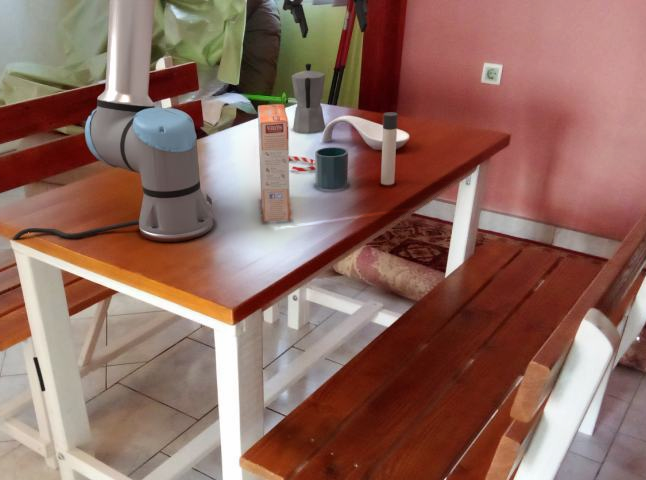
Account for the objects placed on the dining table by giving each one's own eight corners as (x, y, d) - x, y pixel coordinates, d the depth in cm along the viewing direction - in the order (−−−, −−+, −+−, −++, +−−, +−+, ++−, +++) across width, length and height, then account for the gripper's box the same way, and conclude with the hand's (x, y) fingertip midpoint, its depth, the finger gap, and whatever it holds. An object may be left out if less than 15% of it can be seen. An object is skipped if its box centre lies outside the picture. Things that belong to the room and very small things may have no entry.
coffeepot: (293, 123, 213) (292, 59, 203) (325, 122, 212) (325, 58, 202) (291, 138, 200) (289, 70, 190) (325, 137, 199) (325, 69, 189)
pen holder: (321, 193, 162) (321, 158, 157) (311, 183, 168) (311, 149, 163) (351, 189, 163) (352, 154, 159) (341, 179, 169) (341, 145, 165)
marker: (383, 187, 162) (386, 116, 154) (378, 183, 165) (381, 113, 156) (396, 186, 163) (400, 114, 154) (391, 181, 165) (394, 111, 157)
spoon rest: (415, 144, 188) (417, 117, 185) (398, 157, 180) (400, 129, 176) (334, 135, 200) (334, 109, 196) (314, 147, 191) (314, 120, 187)
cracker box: (291, 221, 148) (289, 119, 137) (262, 223, 148) (257, 121, 137) (287, 198, 160) (285, 102, 149) (261, 199, 160) (256, 104, 149)
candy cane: (282, 151, 186) (326, 161, 176) (282, 156, 186) (326, 166, 177) (261, 158, 181) (305, 170, 172) (261, 163, 182) (305, 175, 173)
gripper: (263, -59, 156) (283, 24, 152) (370, -67, 160) (393, 14, 156) (258, -33, 163) (277, 47, 159) (361, -42, 167) (383, 36, 163)
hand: (335, 31), depth 157 cm, fingers open, 13 cm apart
